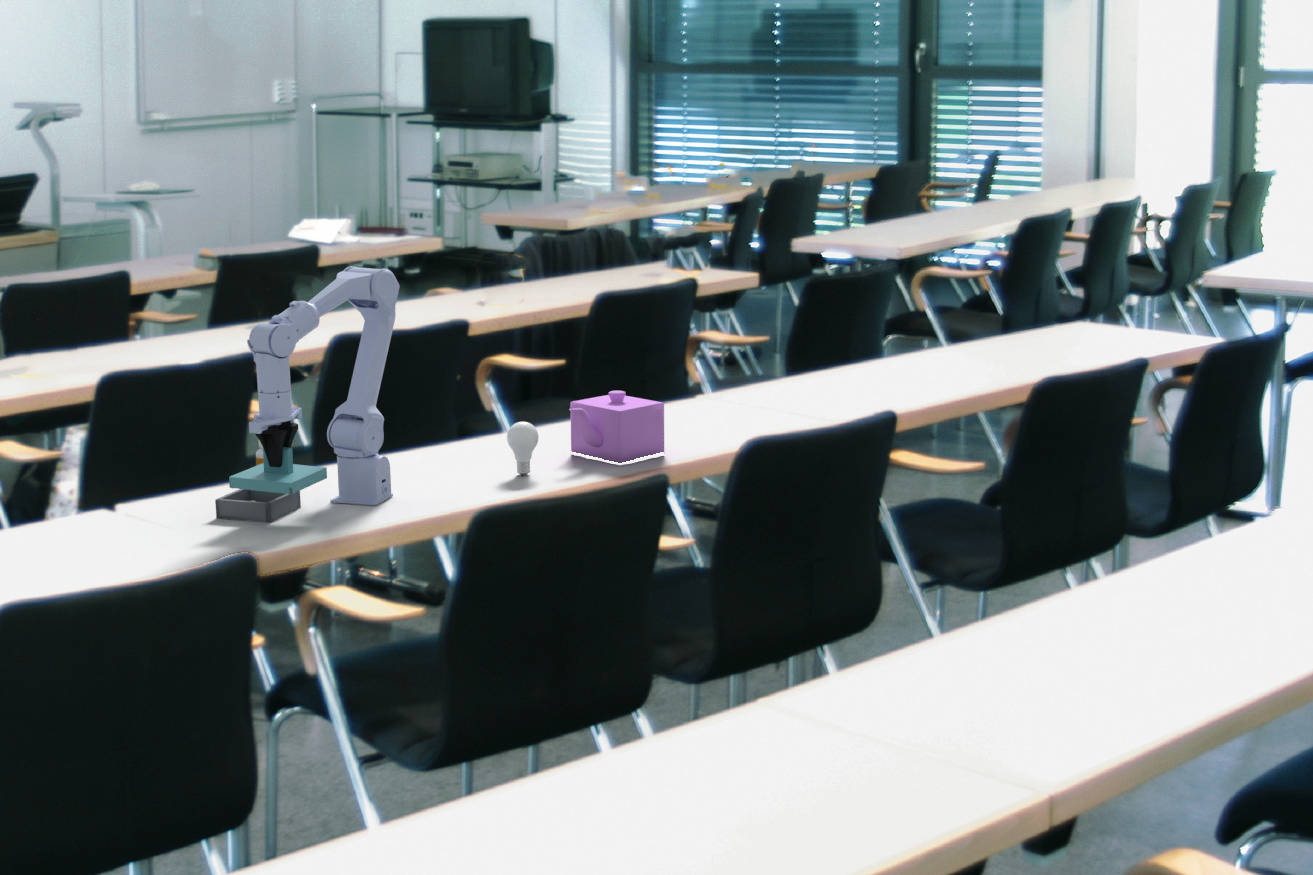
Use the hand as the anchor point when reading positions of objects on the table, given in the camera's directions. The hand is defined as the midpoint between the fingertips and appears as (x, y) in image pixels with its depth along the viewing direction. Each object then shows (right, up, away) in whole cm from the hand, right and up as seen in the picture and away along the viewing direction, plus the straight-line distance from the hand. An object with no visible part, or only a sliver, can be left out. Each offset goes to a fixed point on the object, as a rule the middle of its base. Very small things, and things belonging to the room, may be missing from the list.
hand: (278, 465), depth 280 cm
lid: (0, -3, +1) cm, 3 cm away
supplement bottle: (-8, -5, +27) cm, 29 cm away
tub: (-6, -9, +8) cm, 13 cm away
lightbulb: (+41, -3, +36) cm, 55 cm away
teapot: (+59, +1, +52) cm, 79 cm away
